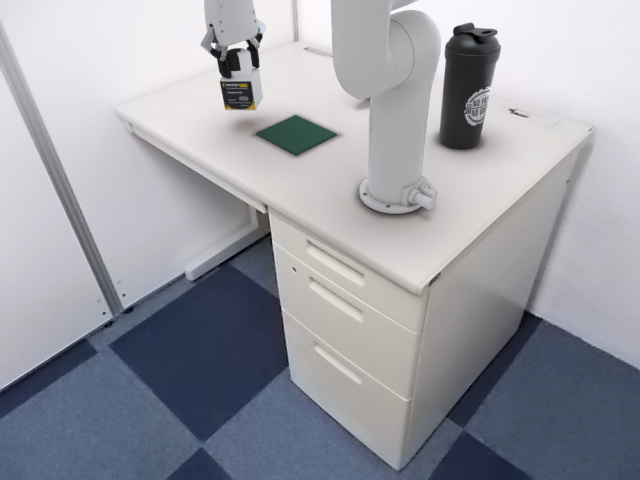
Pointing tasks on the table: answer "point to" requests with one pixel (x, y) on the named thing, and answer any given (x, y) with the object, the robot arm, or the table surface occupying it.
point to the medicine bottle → (241, 82)
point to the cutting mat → (296, 134)
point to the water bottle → (467, 84)
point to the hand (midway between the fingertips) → (240, 71)
